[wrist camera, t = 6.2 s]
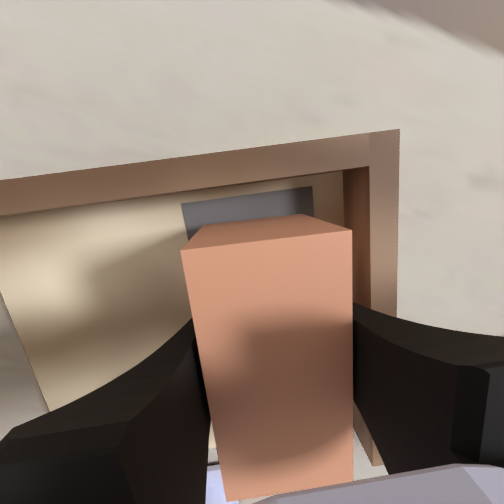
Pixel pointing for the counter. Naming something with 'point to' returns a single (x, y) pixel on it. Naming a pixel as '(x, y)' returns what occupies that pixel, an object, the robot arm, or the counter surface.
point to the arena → (175, 247)
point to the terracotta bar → (275, 350)
